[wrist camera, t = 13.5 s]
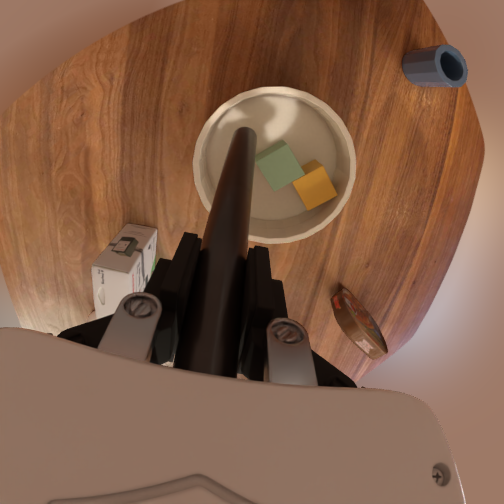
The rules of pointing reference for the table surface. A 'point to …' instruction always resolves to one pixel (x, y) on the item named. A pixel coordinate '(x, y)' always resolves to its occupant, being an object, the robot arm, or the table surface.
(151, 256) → the ink box
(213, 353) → the stirring stick
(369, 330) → the tin
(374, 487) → the robot arm
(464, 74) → the holder
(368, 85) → the table surface
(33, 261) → the table surface
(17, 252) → the table surface
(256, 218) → the bowl
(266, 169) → the sage cube
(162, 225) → the table surface
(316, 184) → the mustard cube
